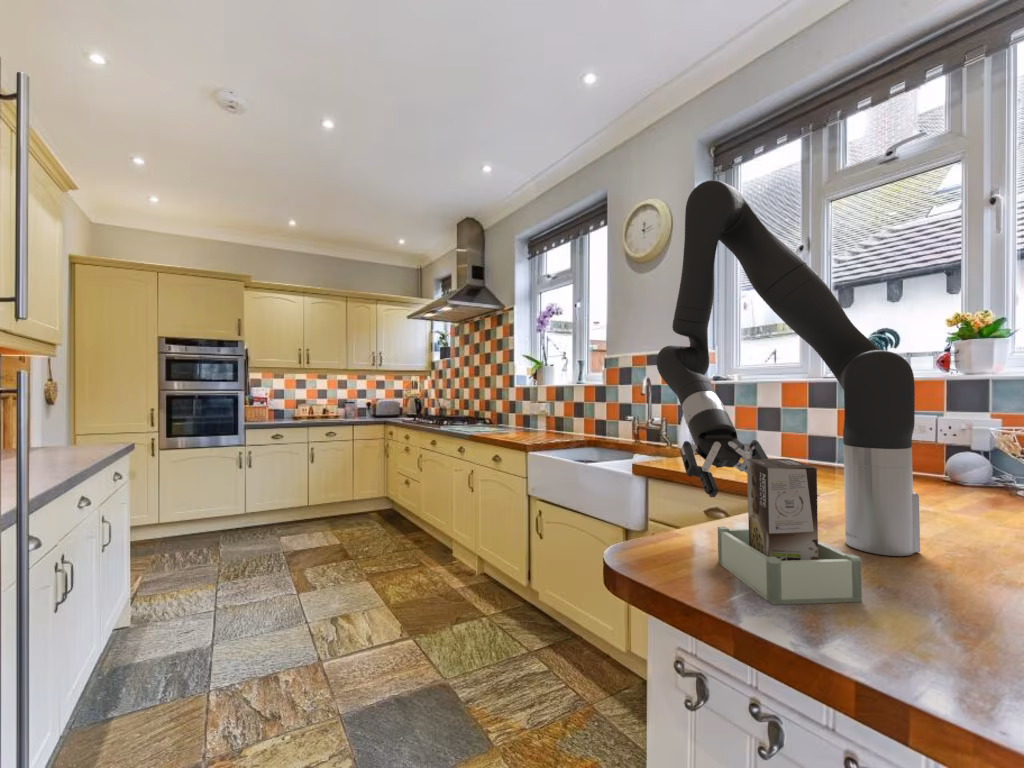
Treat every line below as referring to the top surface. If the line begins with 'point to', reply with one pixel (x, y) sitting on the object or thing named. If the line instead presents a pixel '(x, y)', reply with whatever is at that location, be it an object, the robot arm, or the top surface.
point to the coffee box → (783, 508)
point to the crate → (791, 572)
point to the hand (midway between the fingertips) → (739, 494)
